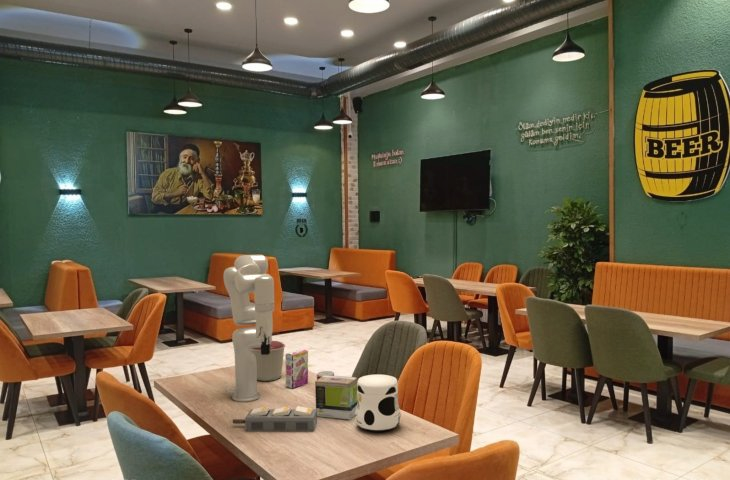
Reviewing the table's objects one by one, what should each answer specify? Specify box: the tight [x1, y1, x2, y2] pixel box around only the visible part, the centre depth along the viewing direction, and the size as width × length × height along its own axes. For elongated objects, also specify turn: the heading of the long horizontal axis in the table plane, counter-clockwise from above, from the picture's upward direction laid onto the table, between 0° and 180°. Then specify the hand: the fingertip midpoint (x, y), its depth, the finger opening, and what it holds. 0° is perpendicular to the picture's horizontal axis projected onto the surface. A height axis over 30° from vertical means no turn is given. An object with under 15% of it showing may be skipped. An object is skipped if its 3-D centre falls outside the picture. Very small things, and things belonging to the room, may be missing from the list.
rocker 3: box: [295, 405, 314, 416], centre depth 207 cm, size 6×5×2 cm
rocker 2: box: [272, 405, 292, 416], centre depth 207 cm, size 6×5×2 cm
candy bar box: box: [285, 349, 309, 390], centre depth 260 cm, size 11×5×16 cm, turn 144°
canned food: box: [316, 370, 335, 380], centre depth 241 cm, size 8×8×11 cm
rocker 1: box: [250, 405, 270, 416], centre depth 208 cm, size 6×5×2 cm
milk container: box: [354, 374, 401, 432], centre depth 206 cm, size 17×17×18 cm
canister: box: [250, 340, 286, 382], centre depth 272 cm, size 18×18×21 cm
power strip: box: [232, 408, 318, 432], centre depth 207 cm, size 32×9×5 cm, turn 87°
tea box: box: [314, 375, 358, 421], centre depth 220 cm, size 15×10×15 cm
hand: (265, 354), depth 211 cm, fingers closed
